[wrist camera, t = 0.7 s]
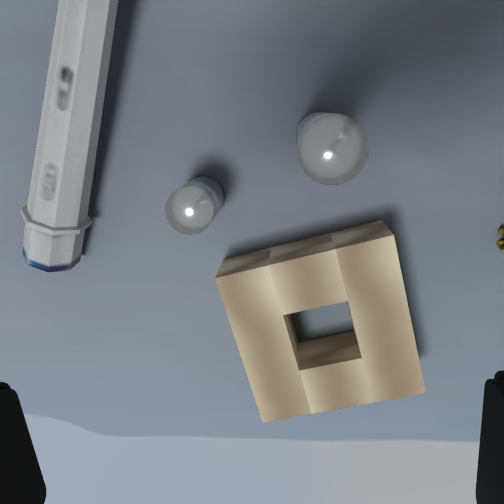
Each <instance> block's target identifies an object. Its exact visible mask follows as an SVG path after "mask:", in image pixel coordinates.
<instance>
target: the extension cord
mask: <svg viewBox="0 0 504 504" xmlns="http://www.w3.org/2000/svg"><path fill="white" fill-rule="evenodd" d="M503 233H504V229H500V230H499V231H498V234H503ZM497 246H498V247H499V249H500V250H504V240H497Z"/></svg>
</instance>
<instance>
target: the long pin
mask: <svg viewBox="0 0 504 504" xmlns="http://www.w3.org/2000/svg"><path fill="white" fill-rule="evenodd" d="M296 142H297V150H298V157H299V161H300V164H301V167H302V169H303V170H304V172H305V173H306V174H307V175H308V176H309V177H310V178H311V179H313V180H314V181H316V182H318V183H321V184H325V185H338V184H342V183H345V182H347V181H349V180H351V179H353V178H354V177H355V176H356V175H357V174H358V173H359V172H360V171H361V170H362V168H363V167H364V165H365V163H366V160H367V157H368V152H369V143H368V138H367V135H366V133H365V131H364V129H363V128H362V126H361V125H360V124H359V123H358V122H357V121H356V120H354V119H353V118H351V117H349V116H346V115H343V114H335V113H324V112H315V113H311V114H309V115H307V116H306V117H304V118H303V119H302V120H301V122H300V123H299V125H298V127H297V131H296Z"/></svg>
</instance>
